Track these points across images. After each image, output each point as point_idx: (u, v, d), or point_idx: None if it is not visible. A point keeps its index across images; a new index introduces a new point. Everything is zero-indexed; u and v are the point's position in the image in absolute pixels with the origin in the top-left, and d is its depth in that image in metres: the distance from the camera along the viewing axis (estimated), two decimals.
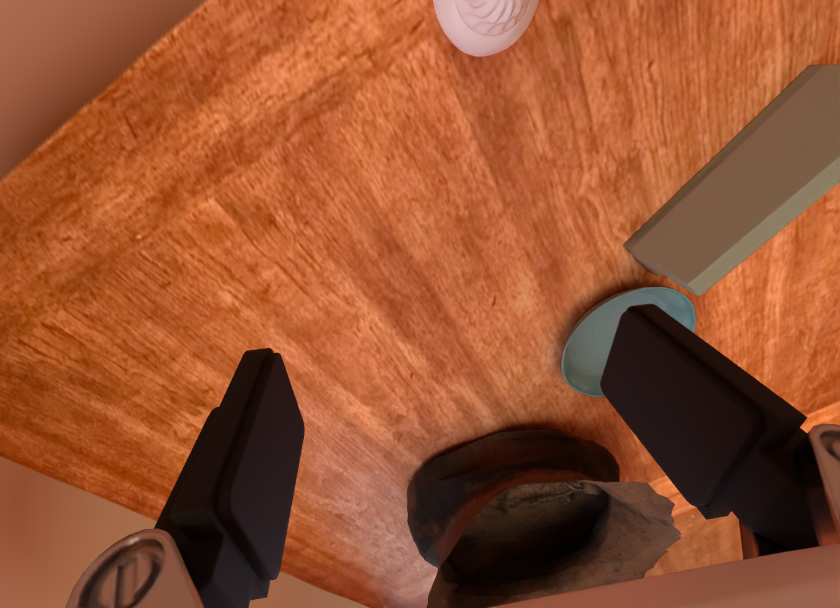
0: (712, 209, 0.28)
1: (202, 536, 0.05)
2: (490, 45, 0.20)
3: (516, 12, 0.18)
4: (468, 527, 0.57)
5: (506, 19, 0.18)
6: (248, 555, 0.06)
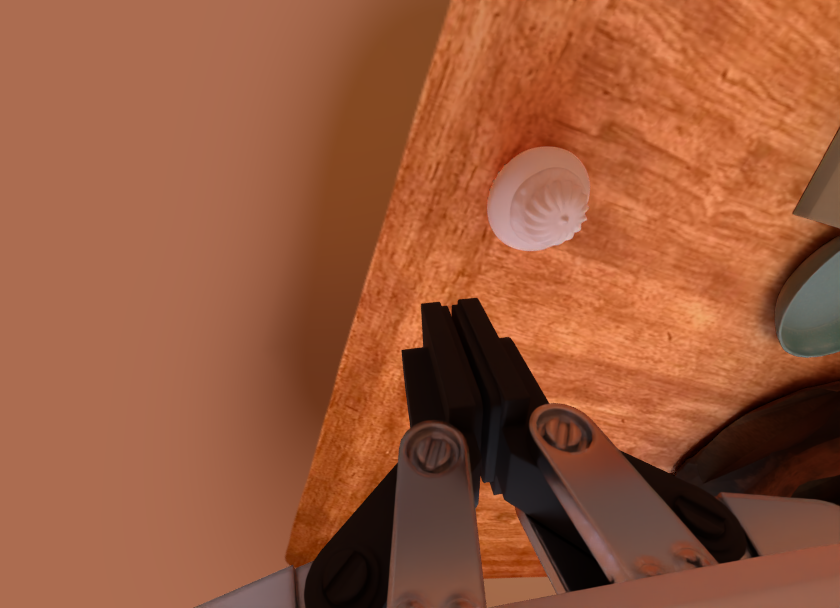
0: None
1: (460, 430, 0.07)
2: None
3: None
4: None
5: (577, 231, 0.19)
6: None
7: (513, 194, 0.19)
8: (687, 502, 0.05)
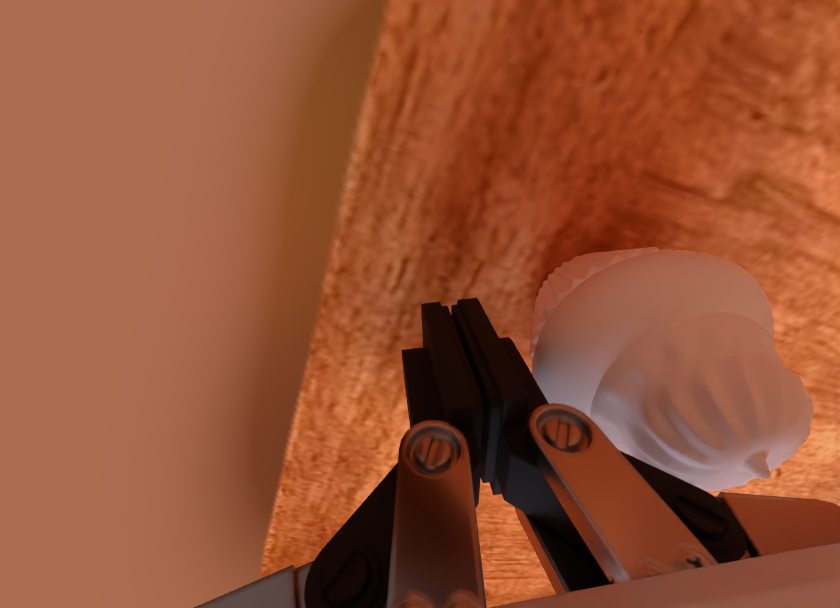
0: None
1: (461, 430, 0.07)
2: None
3: None
4: None
5: None
6: None
7: (604, 365, 0.08)
8: (687, 502, 0.05)
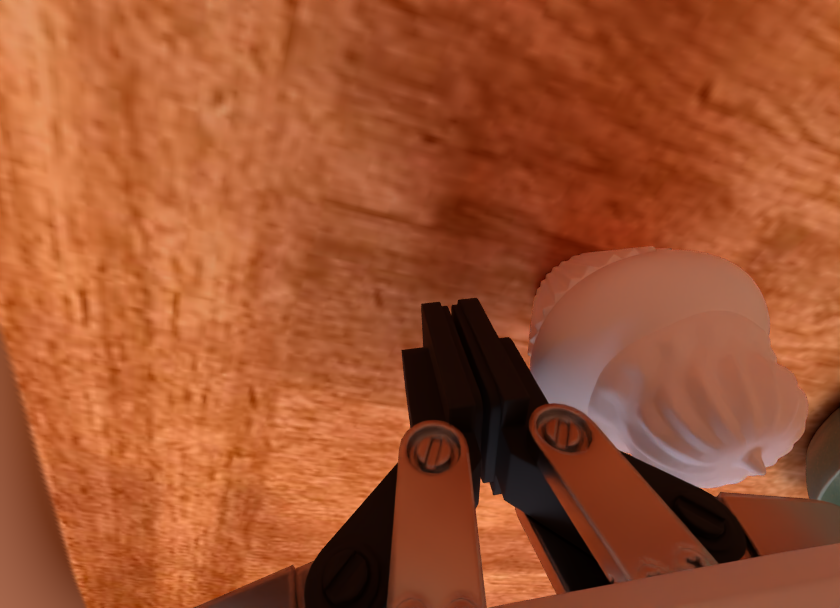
0: None
1: (461, 430, 0.07)
2: None
3: None
4: None
5: None
6: None
7: (600, 364, 0.08)
8: (687, 502, 0.05)
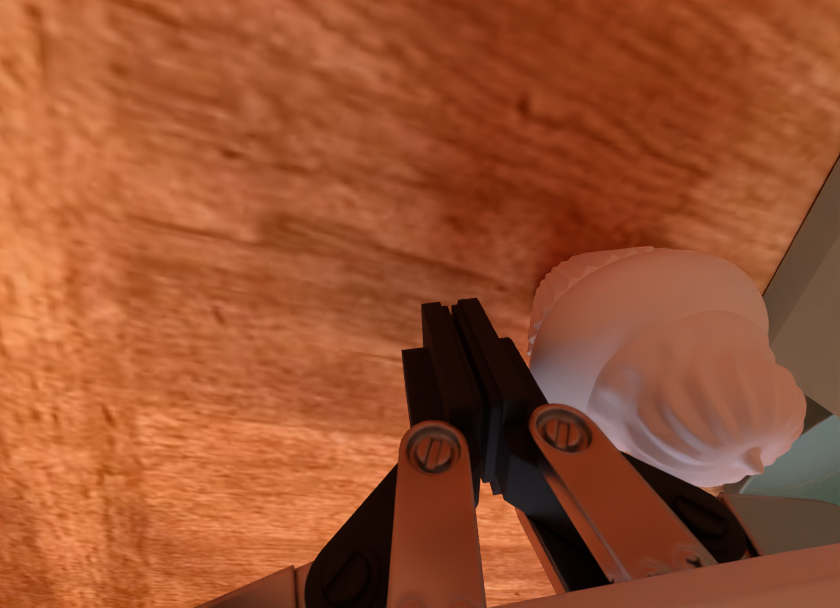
0: None
1: (460, 430, 0.07)
2: None
3: None
4: None
5: None
6: None
7: (599, 363, 0.08)
8: (687, 502, 0.05)
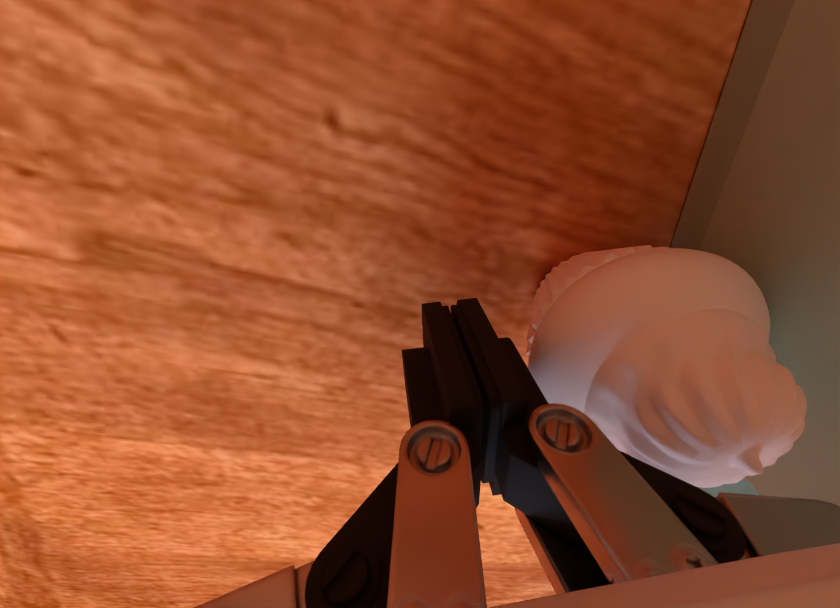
0: (803, 292, 0.08)
1: (461, 430, 0.07)
2: None
3: None
4: None
5: None
6: None
7: (597, 363, 0.08)
8: (686, 502, 0.05)
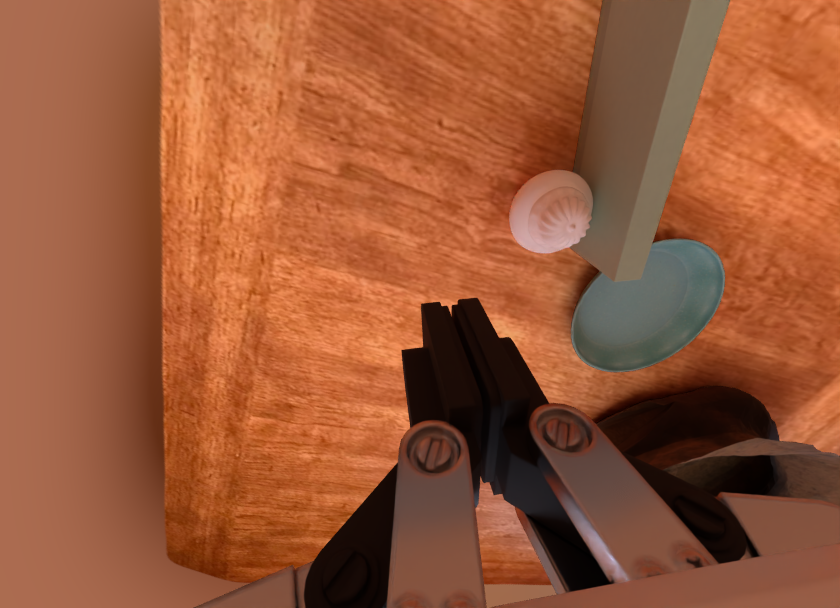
0: (601, 184, 0.24)
1: (460, 430, 0.07)
2: None
3: None
4: None
5: None
6: None
7: (530, 207, 0.24)
8: (687, 502, 0.05)
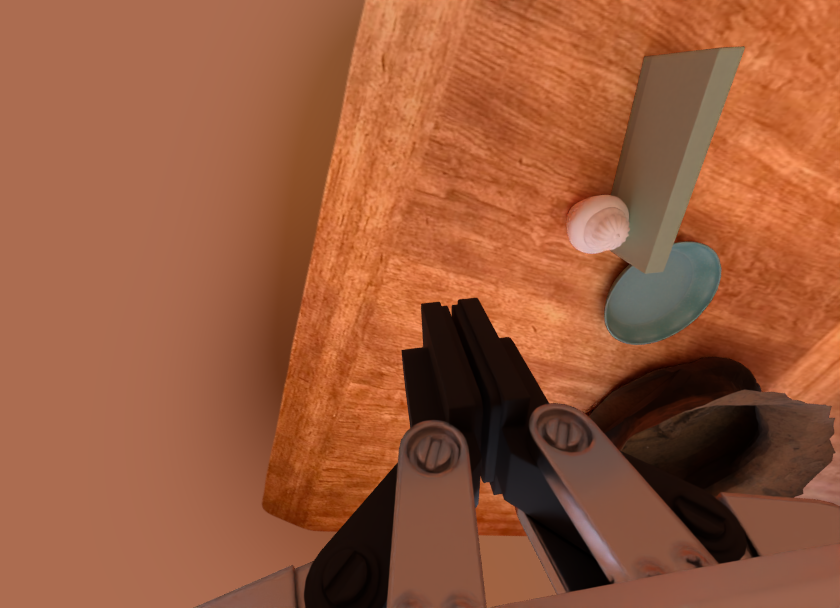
0: (635, 204, 0.34)
1: (460, 430, 0.07)
2: None
3: None
4: (646, 458, 0.66)
5: None
6: None
7: (586, 221, 0.34)
8: (687, 502, 0.05)
